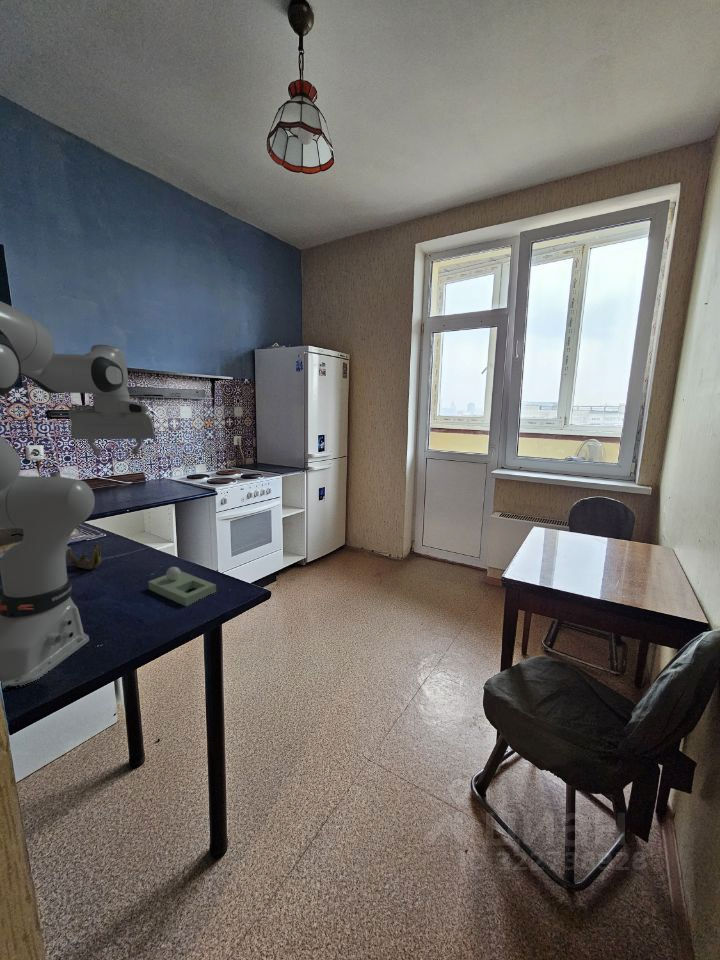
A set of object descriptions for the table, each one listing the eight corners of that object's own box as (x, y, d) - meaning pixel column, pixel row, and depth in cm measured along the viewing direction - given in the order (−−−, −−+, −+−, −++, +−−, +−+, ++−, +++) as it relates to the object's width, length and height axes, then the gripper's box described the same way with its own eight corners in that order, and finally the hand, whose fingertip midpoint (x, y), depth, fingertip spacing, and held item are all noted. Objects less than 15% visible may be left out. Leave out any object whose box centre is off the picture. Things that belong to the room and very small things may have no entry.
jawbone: (81, 564, 120) (74, 534, 123) (71, 578, 129) (64, 551, 132) (115, 557, 127) (108, 529, 130) (102, 571, 136) (96, 545, 139)
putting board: (216, 592, 115) (215, 584, 115) (186, 606, 107) (185, 598, 106) (179, 577, 124) (178, 570, 124) (148, 589, 116) (148, 581, 116)
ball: (178, 582, 115) (177, 569, 115) (164, 582, 115) (163, 570, 114) (182, 576, 119) (182, 564, 119) (169, 576, 119) (168, 564, 118)
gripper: (64, 405, 102) (70, 457, 105) (152, 407, 111) (155, 455, 114) (70, 405, 108) (75, 454, 111) (153, 407, 117) (156, 452, 119)
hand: (116, 454), depth 112 cm, fingers open, 8 cm apart
